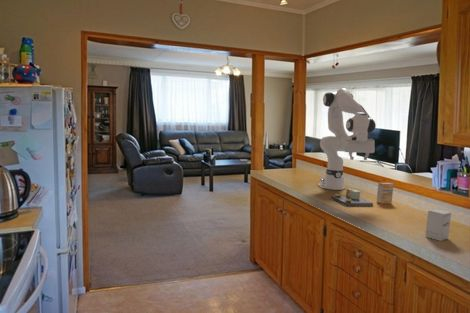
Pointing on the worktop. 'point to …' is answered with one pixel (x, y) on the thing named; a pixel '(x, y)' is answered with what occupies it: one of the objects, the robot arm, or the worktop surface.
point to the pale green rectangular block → (355, 194)
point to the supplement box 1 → (385, 193)
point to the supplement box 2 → (438, 224)
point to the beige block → (348, 193)
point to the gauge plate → (355, 201)
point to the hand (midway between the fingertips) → (358, 159)
